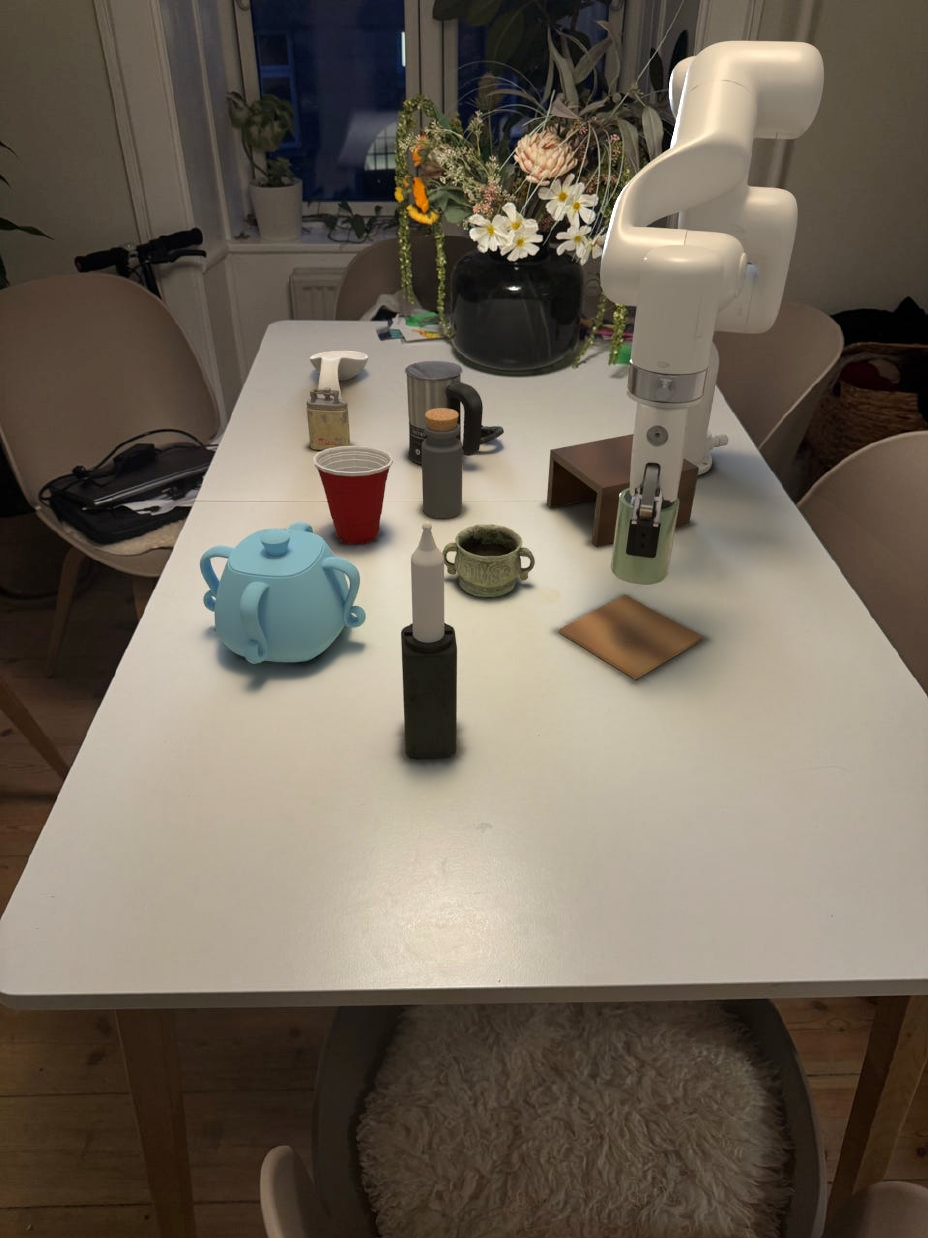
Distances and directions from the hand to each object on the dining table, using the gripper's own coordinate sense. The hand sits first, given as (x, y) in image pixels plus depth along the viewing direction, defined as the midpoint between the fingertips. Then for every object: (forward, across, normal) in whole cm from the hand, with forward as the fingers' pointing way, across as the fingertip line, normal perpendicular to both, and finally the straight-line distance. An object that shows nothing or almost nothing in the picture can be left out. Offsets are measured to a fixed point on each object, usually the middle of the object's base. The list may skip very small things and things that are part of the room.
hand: (643, 538), depth 97 cm
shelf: (+13, +31, +5) cm, 34 cm away
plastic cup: (+13, +15, +40) cm, 45 cm away
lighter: (+13, +43, +55) cm, 71 cm away
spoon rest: (+13, +72, +65) cm, 98 cm away
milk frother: (+13, +47, +34) cm, 60 cm away
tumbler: (+4, 0, 0) cm, 4 cm away
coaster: (+13, 0, 0) cm, 13 cm away
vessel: (+13, +8, +19) cm, 25 cm away
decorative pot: (+14, -11, +39) cm, 43 cm away
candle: (+14, -24, +18) cm, 33 cm away
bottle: (+13, +26, +30) cm, 42 cm away
